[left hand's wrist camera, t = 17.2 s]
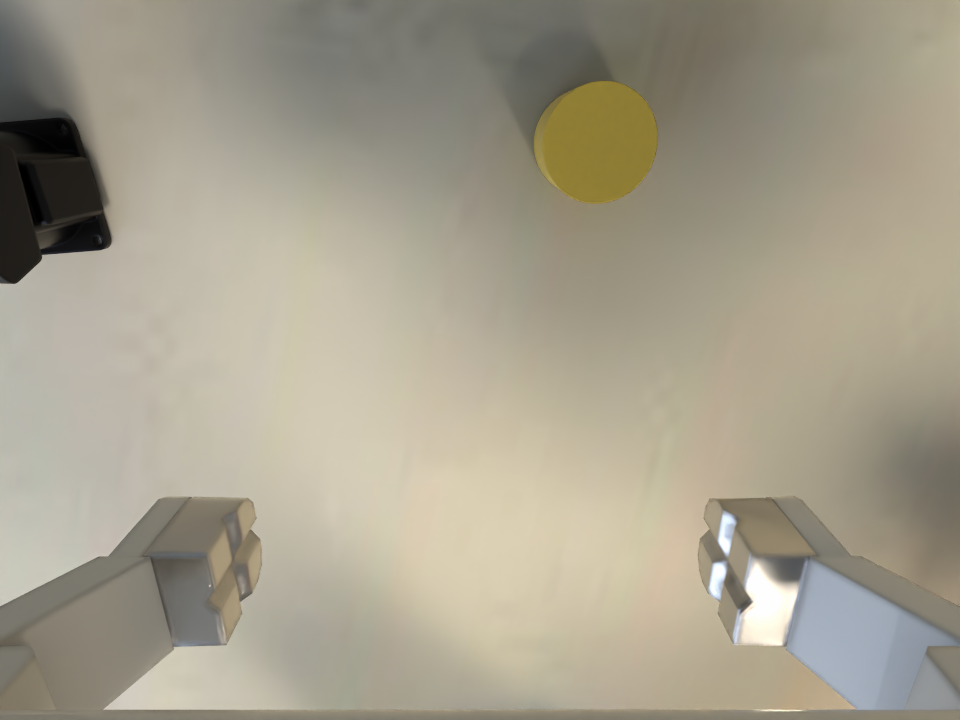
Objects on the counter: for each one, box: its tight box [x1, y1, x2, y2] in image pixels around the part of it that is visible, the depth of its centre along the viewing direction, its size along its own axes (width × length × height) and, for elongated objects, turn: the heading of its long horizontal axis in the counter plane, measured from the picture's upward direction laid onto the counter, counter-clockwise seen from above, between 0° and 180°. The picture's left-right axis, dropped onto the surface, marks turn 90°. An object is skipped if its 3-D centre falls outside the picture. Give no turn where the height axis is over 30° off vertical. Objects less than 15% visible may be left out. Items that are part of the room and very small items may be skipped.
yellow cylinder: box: [534, 81, 658, 204], centre depth 27 cm, size 5×5×4 cm
